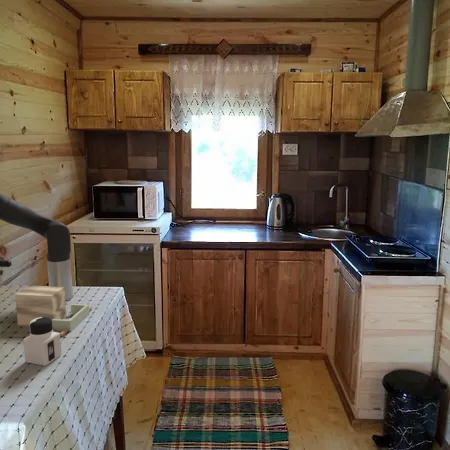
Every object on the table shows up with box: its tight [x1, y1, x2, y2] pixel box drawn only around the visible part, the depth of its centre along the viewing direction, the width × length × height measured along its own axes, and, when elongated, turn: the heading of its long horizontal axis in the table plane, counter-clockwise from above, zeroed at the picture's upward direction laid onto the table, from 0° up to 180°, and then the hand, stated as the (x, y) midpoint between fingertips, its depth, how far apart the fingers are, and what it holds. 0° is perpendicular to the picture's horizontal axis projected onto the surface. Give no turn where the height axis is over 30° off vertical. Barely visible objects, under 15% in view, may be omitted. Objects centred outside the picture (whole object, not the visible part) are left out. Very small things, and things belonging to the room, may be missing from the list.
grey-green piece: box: [52, 303, 93, 338], centre depth 168 cm, size 25×7×4 cm, turn 173°
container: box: [23, 317, 62, 367], centre depth 140 cm, size 8×8×13 cm
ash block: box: [14, 285, 67, 327], centre depth 169 cm, size 10×14×12 cm
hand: (10, 263), depth 167 cm, fingers closed
